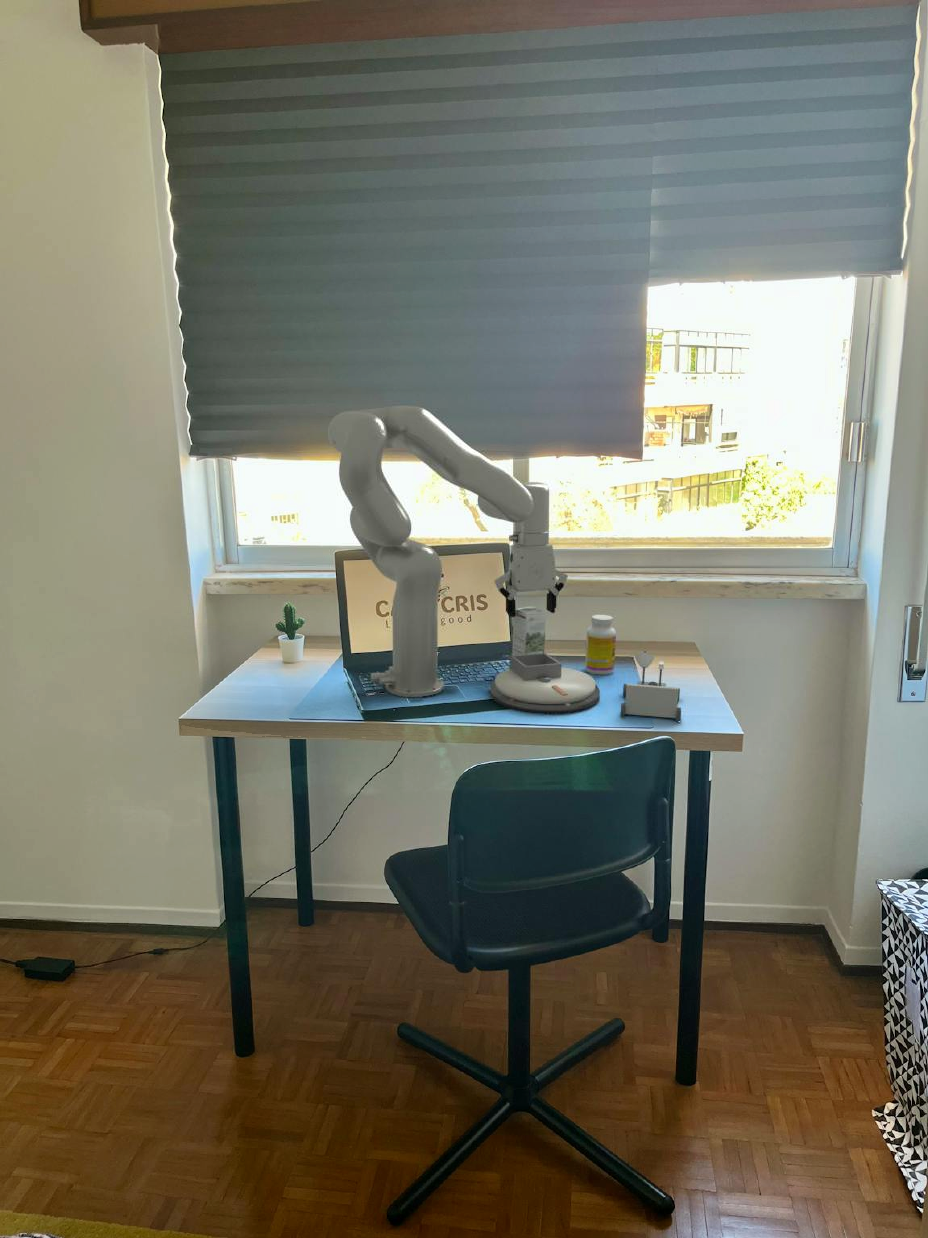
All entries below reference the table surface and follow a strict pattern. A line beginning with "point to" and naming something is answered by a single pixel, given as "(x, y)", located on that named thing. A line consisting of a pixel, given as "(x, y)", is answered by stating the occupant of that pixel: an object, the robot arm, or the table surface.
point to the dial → (543, 681)
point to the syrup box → (528, 631)
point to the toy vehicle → (650, 695)
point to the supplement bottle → (600, 646)
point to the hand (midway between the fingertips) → (531, 613)
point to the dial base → (545, 708)
